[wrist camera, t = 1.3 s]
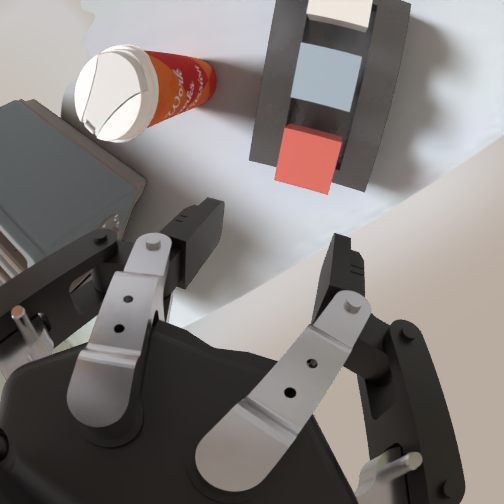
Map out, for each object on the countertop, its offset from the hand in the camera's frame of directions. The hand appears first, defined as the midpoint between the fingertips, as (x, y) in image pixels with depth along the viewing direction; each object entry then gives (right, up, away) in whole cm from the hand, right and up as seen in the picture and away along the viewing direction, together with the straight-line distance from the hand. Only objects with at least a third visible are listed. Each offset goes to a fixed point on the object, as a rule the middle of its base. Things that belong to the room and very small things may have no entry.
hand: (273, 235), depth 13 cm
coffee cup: (-8, +19, +17) cm, 27 cm away
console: (+7, +17, +13) cm, 22 cm away
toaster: (-30, +11, +30) cm, 44 cm away
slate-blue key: (+6, +15, +10) cm, 18 cm away
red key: (+5, +9, +14) cm, 17 cm away
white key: (+7, +20, +5) cm, 22 cm away
